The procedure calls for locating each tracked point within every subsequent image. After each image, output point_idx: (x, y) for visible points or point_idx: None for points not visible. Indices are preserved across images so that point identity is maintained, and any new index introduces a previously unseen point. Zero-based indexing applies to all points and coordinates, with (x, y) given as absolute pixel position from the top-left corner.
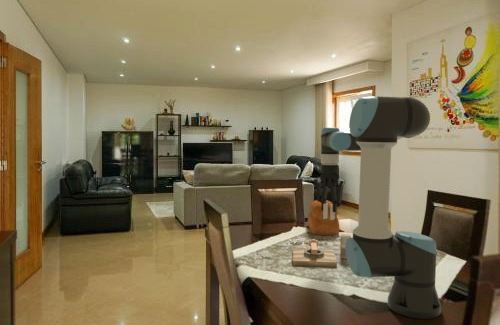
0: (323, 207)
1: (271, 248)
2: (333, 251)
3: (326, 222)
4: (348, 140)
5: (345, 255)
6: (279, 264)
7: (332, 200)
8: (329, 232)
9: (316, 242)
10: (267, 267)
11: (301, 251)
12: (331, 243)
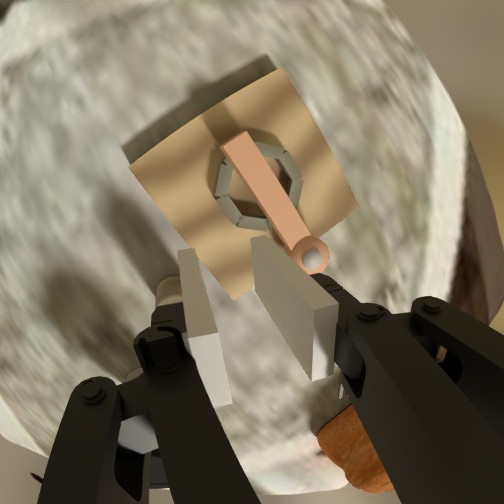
0: (313, 281)
1: (416, 194)
2: (221, 284)
3: (358, 437)
4: None
5: (164, 284)
6: (313, 53)
7: (197, 396)
8: (336, 422)
9: (292, 254)
10: (321, 11)
11: (318, 191)
12: (297, 377)
